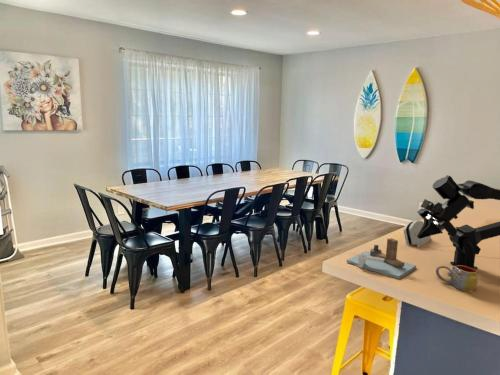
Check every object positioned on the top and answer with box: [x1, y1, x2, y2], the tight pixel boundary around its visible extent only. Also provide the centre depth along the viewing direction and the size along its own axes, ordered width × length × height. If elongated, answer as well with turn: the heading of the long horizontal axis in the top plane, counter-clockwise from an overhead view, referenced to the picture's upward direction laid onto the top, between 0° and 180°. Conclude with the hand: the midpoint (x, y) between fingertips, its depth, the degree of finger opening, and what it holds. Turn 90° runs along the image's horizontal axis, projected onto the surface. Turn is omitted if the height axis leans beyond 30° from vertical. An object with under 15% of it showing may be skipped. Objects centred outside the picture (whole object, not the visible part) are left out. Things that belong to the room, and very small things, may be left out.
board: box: [346, 250, 417, 280], centre depth 137 cm, size 20×14×1 cm
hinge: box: [403, 220, 432, 249], centre depth 164 cm, size 17×5×10 cm, turn 137°
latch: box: [369, 238, 405, 267], centre depth 138 cm, size 14×4×8 cm, turn 26°
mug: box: [435, 265, 479, 293], centre depth 121 cm, size 12×7×7 cm, turn 50°
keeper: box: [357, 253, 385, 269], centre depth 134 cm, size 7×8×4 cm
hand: (418, 237), depth 135 cm, fingers closed
